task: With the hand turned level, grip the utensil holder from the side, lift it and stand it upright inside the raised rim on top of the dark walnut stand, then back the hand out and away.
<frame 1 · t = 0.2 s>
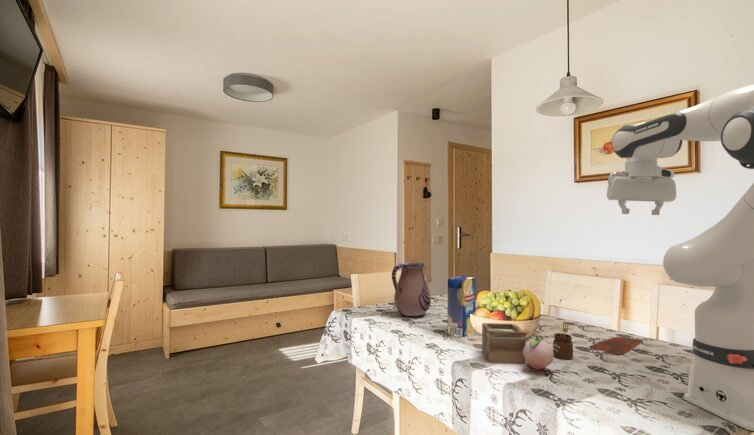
hand: (640, 214, 123), 47 cm above the table, tool pointing down, fingers open, 8 cm apart
ceramic pitcher: (410, 316, 179), on the table
wooden tablet: (618, 347, 136), on the table
walnut stand: (502, 356, 122), on the table
decorative fruit: (538, 371, 111), on the table
utensil holder: (563, 357, 123), on the table
beverage box: (461, 333, 150), on the table
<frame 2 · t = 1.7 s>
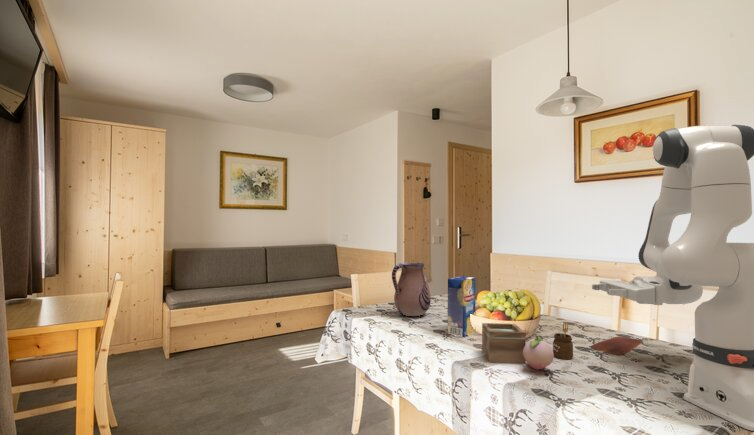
hand: (600, 289, 123), 22 cm above the table, tool horizontal, fingers open, 8 cm apart
nothing on the table moved.
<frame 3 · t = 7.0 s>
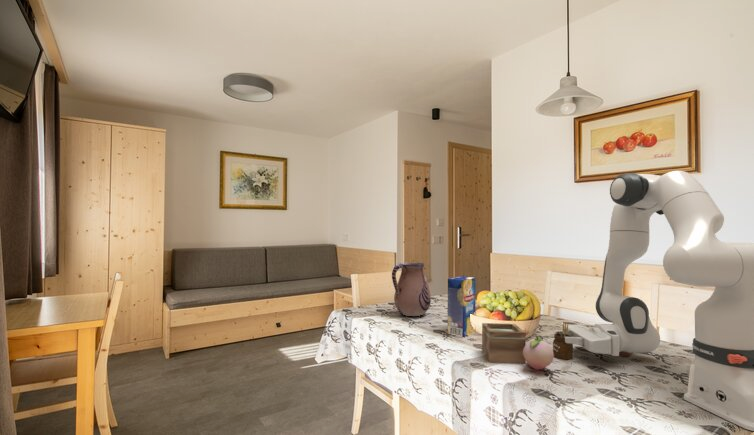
hand: (560, 336, 123), 7 cm above the table, tool horizontal, fingers open, 5 cm apart
utensil holder: (563, 357, 123), on the table, touching gripper
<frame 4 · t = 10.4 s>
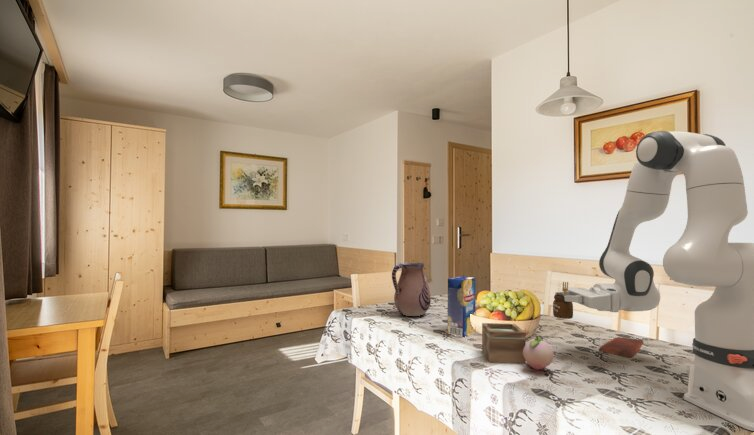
hand: (559, 296, 123), 20 cm above the table, tool horizontal, fingers closed on utensil holder, 5 cm apart
utensil holder: (563, 317, 123), point 13 cm above the table, touching gripper
when the fingers open (16 cm above the table, at t = 13.7 s): utensil holder moves 2 cm, resting on walnut stand.
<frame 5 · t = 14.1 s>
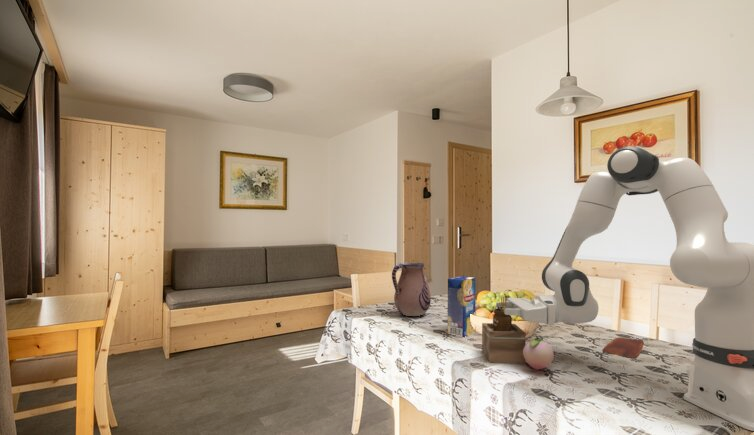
hand: (500, 308, 123), 16 cm above the table, tool horizontal, fingers open, 8 cm apart
utensil holder: (502, 331, 124), point 8 cm above the table, touching gripper, walnut stand
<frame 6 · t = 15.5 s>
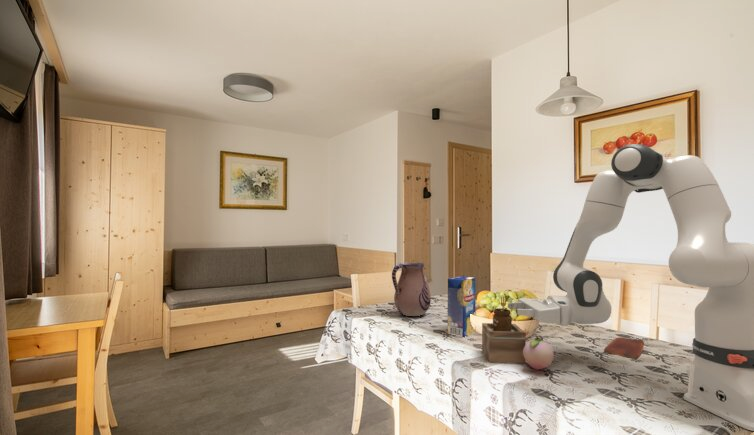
hand: (512, 308, 122), 16 cm above the table, tool horizontal, fingers open, 8 cm apart
utensil holder: (502, 331, 124), point 8 cm above the table, touching walnut stand
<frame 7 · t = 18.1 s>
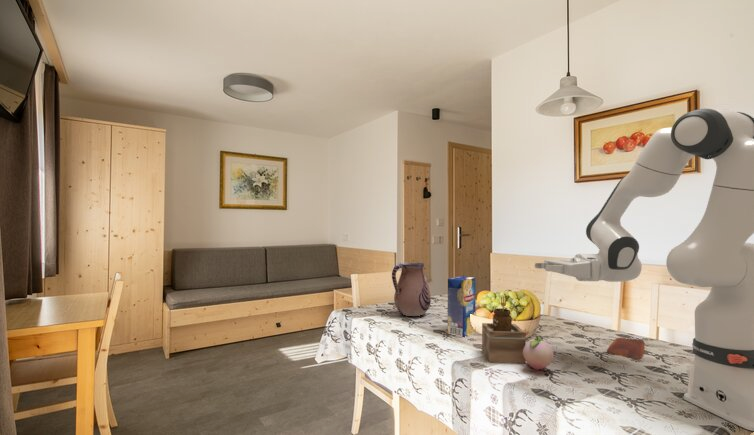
hand: (540, 266, 122), 30 cm above the table, tool horizontal, fingers open, 8 cm apart
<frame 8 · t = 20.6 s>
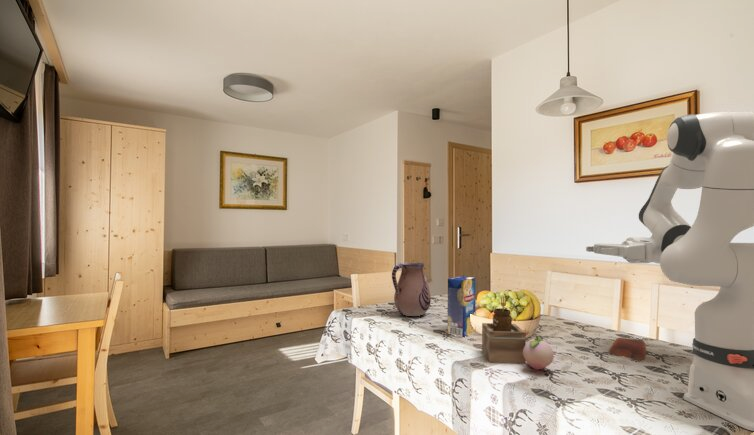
hand: (593, 249, 129), 35 cm above the table, tool horizontal, fingers open, 8 cm apart
at the end: utensil holder 1.2 cm off-centre on the walnut stand, point 7.8 cm above the walnut stand's base; utensil holder tilted 0°; the gripper is holding nothing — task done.
